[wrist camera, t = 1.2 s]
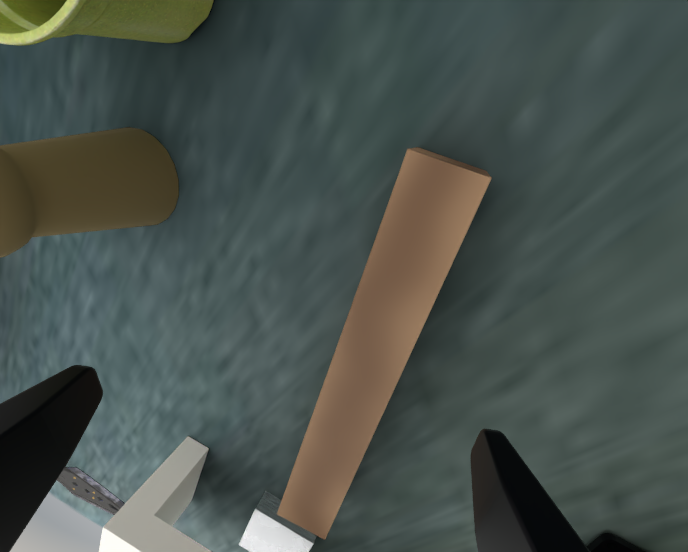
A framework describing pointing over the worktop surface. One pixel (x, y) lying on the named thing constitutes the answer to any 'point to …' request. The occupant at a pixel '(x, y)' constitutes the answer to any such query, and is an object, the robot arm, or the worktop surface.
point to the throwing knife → (89, 490)
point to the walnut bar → (382, 328)
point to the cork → (84, 185)
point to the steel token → (274, 530)
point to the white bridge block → (159, 507)
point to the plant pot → (100, 19)
